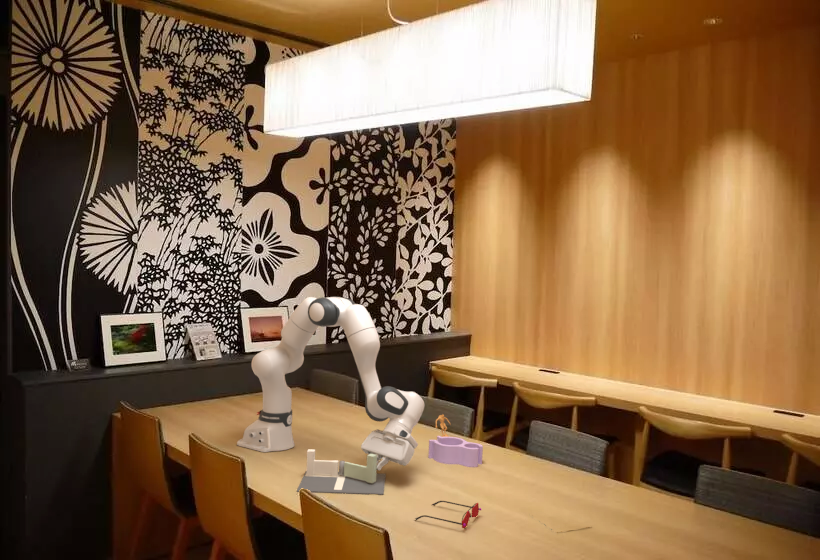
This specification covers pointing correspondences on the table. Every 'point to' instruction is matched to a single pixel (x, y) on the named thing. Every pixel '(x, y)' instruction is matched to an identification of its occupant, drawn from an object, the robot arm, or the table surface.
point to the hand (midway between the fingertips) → (375, 468)
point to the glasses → (464, 521)
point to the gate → (360, 469)
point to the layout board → (342, 484)
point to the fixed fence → (320, 465)
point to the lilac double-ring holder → (455, 451)
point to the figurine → (442, 425)
